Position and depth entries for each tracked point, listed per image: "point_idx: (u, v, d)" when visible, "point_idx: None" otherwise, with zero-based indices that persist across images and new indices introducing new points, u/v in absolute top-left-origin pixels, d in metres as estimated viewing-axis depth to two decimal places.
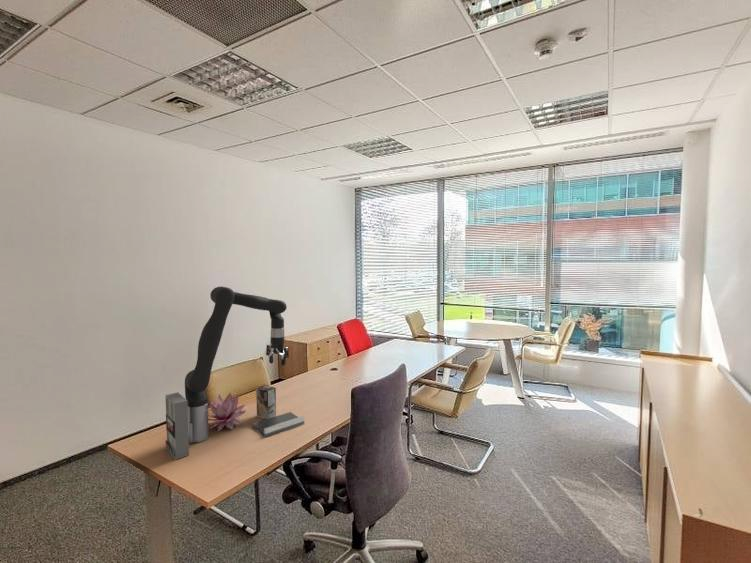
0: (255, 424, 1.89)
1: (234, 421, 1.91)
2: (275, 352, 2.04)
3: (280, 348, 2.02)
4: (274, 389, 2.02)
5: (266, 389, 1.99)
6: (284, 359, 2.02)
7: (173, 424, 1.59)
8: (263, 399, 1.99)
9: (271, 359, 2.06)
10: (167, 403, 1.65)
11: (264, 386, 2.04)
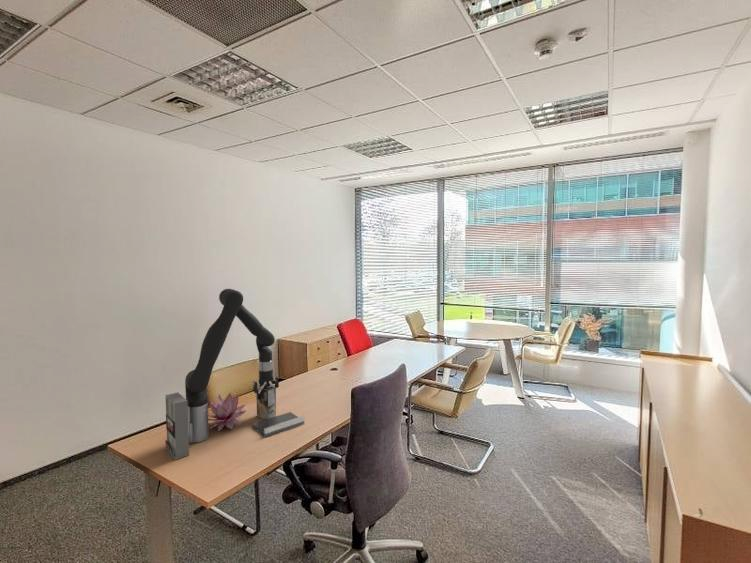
0: (255, 424, 1.89)
1: (234, 421, 1.91)
2: (266, 385, 2.01)
3: (272, 379, 2.03)
4: (274, 389, 2.02)
5: (266, 389, 1.99)
6: None
7: (173, 424, 1.59)
8: (263, 399, 1.99)
9: None
10: (167, 403, 1.64)
11: None
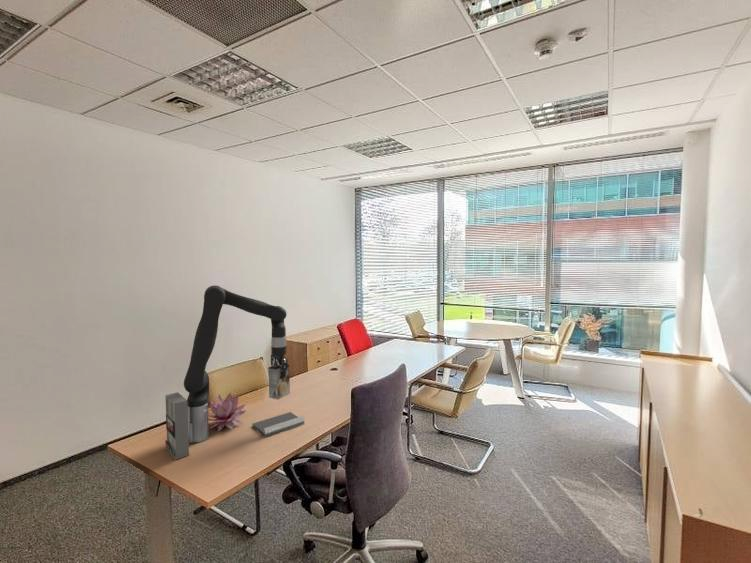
0: (255, 424, 1.89)
1: (234, 421, 1.91)
2: None
3: None
4: None
5: None
6: None
7: (173, 424, 1.59)
8: (285, 375, 1.89)
9: None
10: (167, 403, 1.64)
11: (273, 366, 1.87)
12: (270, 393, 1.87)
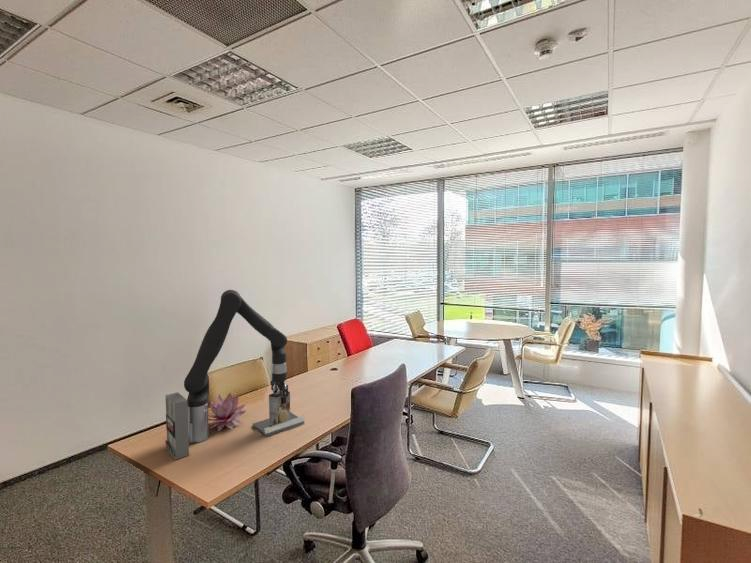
0: (255, 424, 1.89)
1: (234, 421, 1.91)
2: None
3: None
4: None
5: None
6: None
7: (173, 424, 1.59)
8: None
9: None
10: (167, 403, 1.65)
11: (274, 394, 1.88)
12: (270, 421, 1.88)
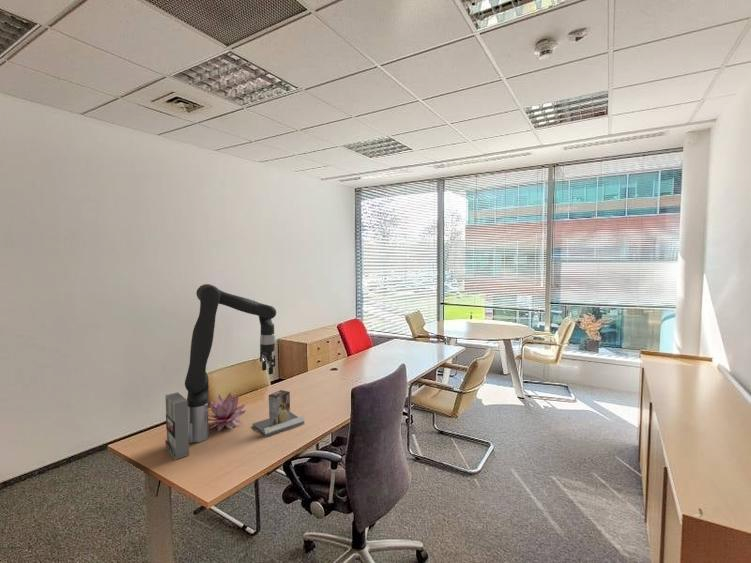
0: (255, 424, 1.89)
1: (234, 421, 1.91)
2: None
3: None
4: None
5: (284, 392, 1.91)
6: None
7: (173, 424, 1.59)
8: (285, 403, 1.89)
9: None
10: (167, 403, 1.65)
11: (274, 394, 1.88)
12: (270, 421, 1.88)
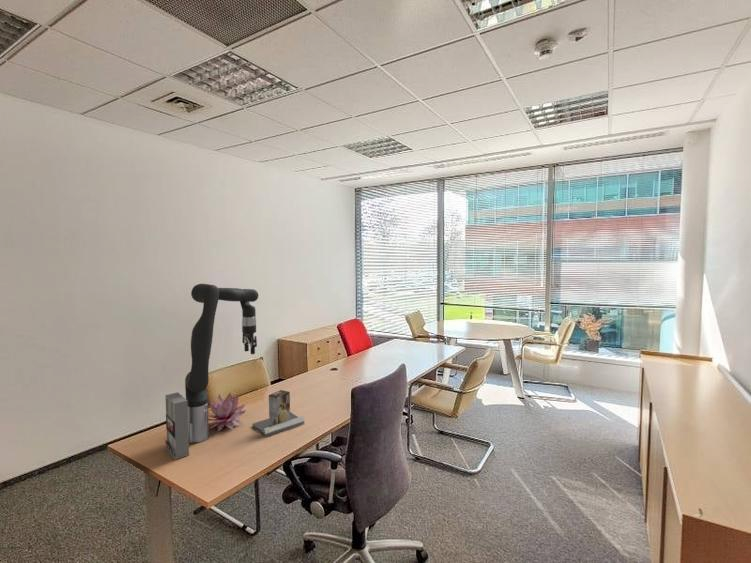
0: (255, 424, 1.89)
1: (234, 421, 1.91)
2: None
3: None
4: None
5: (284, 392, 1.91)
6: None
7: (173, 424, 1.59)
8: (285, 403, 1.89)
9: None
10: (167, 403, 1.64)
11: (274, 394, 1.88)
12: (270, 421, 1.88)
